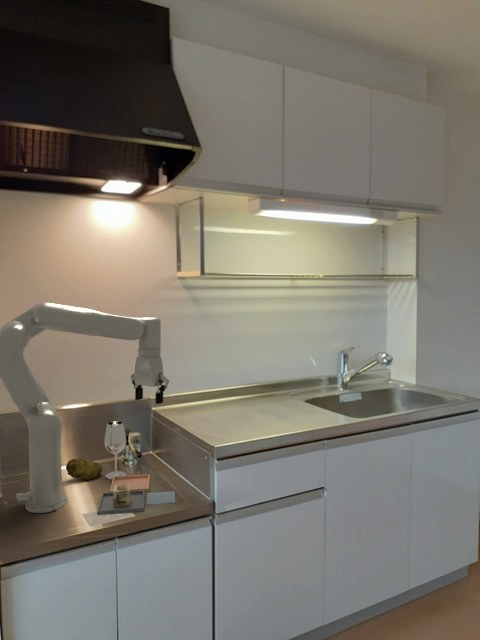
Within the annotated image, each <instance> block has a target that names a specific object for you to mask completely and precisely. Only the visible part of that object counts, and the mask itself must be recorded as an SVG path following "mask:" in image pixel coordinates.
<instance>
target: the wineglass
mask: <svg viewBox="0 0 480 640" xmlns="http://www.w3.org/2000/svg"><path fill="white" fill-rule="evenodd" d="M126 445H127V436H126V431H125V427H124V423H123V421H119V420H113V421H109V422H107V424H106V429H105V434H104V447H105V449H106V450H107V452H108V453H110V454H113V456H114V457H113V458H114V471H111V472H108V473H106V475H105V478H106V479H107V480H111V481H112V480H113V477H115V476H127V473H126V472H124V471H118V469H117V468H118V467H117V465H118V463H117V462H118V461H117V460H118V459H117V457H118V454H119V453H121V452H123V450H124V449H125V447H126Z"/></svg>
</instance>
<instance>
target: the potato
mask: <svg viewBox="0 0 480 640" xmlns="http://www.w3.org/2000/svg"><path fill="white" fill-rule="evenodd" d="M65 469H66V472H67V475H69V476H70V478H74V479H80V480H84V481H85V480H86V481H88V480H93V479H95V478H97V477H99V476H100V475H101V474H102V471H103V466H102V464H100V463H99V462H95V461H91V460H88V459H84V458H81V457H80V458H79V457H76V458H72V459H70V460H68V461H67V463H66V465H65Z"/></svg>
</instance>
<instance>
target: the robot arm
mask: <svg viewBox="0 0 480 640" xmlns="http://www.w3.org/2000/svg"><path fill="white" fill-rule="evenodd" d="M161 326H162V322H161V319H160V318H159V317H156V316H155V317H152V316H146V317H145V316H144V317H131V316H122V315H115V314H110V313H105V312H101V311H98V310H95V309H91V308H87V307H86V308H85V307H77V306H71V305H65V304H59V303H53V302H48V301H42V302H40V303H37V304H36V305H34V306H32V307H31V308H29V309H28V310H26V311H24V312H23V313H21V314H20V315H18V316H16V317H14V318H12V319H11V320H9V321H7V322H6V323H5V324H3V325H2V327H1V328H0V380H1V382H2V383H3V384H2V385H4V387H5V388H6V390H7V392H8V394H9V396H10V399H11V401H12V403H13V404H14V405H15V406H16V407H17V408H18V410H19V412H20V413H21V415H22V417H23V418H24V420H25V422H26V425H27V428H28V460H29V461H28V463H29V464H28V466H29V491H27V492H20V493H18V492H17V493H16V495H15V496H16V497H15V498H16V500H17V502H18V503H21V502H25V506H24V509H25V510H26V511H27V512H29V513H33V514H46V513H52V512H55V511H57V510H58V509H61V508H63V507H64V506H65V505H67V503H68V497H67V496H65V495H64V494H63V487H62V486H63V482H62V480H63V479H62V429H63V428H62V420H61V417H60V415H59V412H58V411H57V410H56V408H55V407H54V405H53V404H52V401H50V399H49V396H48V395H47V393H46V392H45V390H44V388H43V387H42V385H41V382H40V381H39V380H38V379H37V378H36V377H35V376H34V373H32V371H31V369H30V367H29V365H28V363H27V361H26V359H25V357H24V351H25V348H26V347H27V346H28V345H29V342H30V340H31V339H33V338H35V337H37V336H38V335H39V334H42V333H43V332H44V331H46V330H48V331H55V332H63V333H64V332H65V333H70V334H76V335H83V336H84V335H86V336H89V337H90V336H91V337H103V338H109V339H117V340H124V341H132V342H133V341H137V340H138V348H137V352H138V355H137V356H136V358H135V364H134V373H131V375H129V376H130V379H131V383H132V385H133V388H134V390H135V391H134V392H135V394H134V397H135V398H134V399H135V401H139V400H143V398H144V388H143V386H144V387H149V388H151V387H154V389H155V390H156V391H155V404H157V405H159V404H163V403H164V392H165V391H166V389H167V388H168V385H169V382H170V380H169V379H168V377H165V376H164V368H163V360H162V357H161V348H162V347H161V342H162V341H161V339H162V338H161Z"/></svg>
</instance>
